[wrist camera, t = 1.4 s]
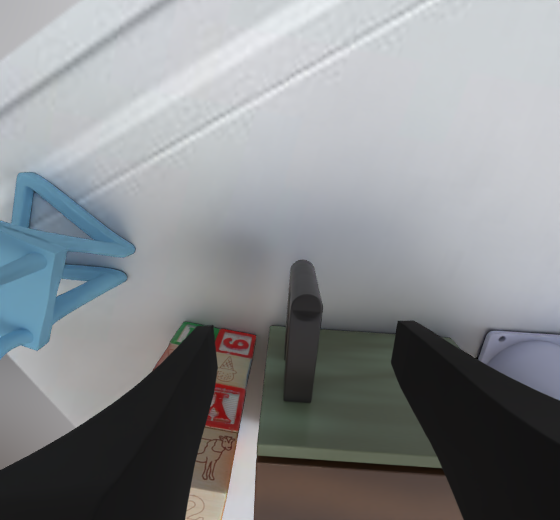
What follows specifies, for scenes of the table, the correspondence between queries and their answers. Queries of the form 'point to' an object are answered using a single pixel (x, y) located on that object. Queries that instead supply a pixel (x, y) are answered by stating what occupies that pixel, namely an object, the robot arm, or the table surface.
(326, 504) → the cupboard
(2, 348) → the chair
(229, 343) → the stack of blocks
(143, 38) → the table surface
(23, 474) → the robot arm
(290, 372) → the cupboard door
